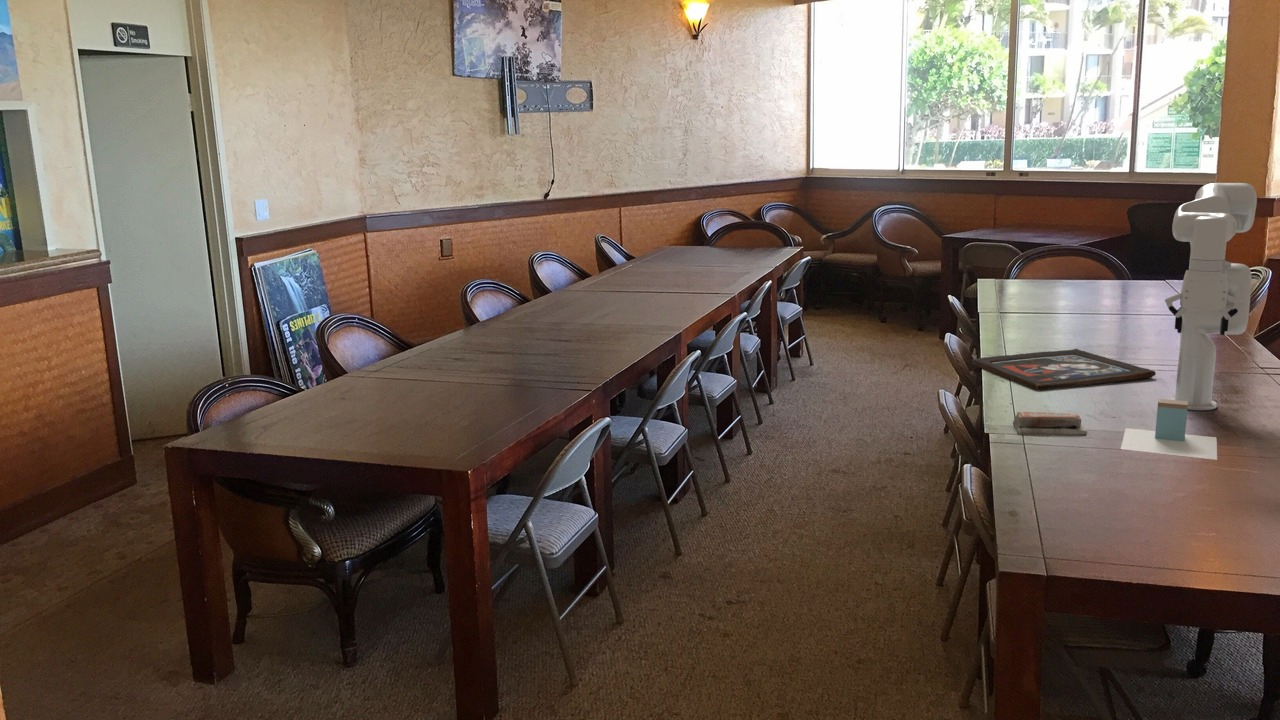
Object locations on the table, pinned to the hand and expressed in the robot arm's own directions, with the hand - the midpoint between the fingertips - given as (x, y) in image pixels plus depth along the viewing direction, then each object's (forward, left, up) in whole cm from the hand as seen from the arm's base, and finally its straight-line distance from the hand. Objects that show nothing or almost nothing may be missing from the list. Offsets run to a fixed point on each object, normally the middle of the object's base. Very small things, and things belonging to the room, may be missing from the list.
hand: (1200, 333), depth 260 cm
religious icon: (-74, -40, -31) cm, 90 cm away
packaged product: (-4, -35, -31) cm, 47 cm away
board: (-1, -5, -31) cm, 31 cm away
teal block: (-6, -5, -30) cm, 31 cm away
